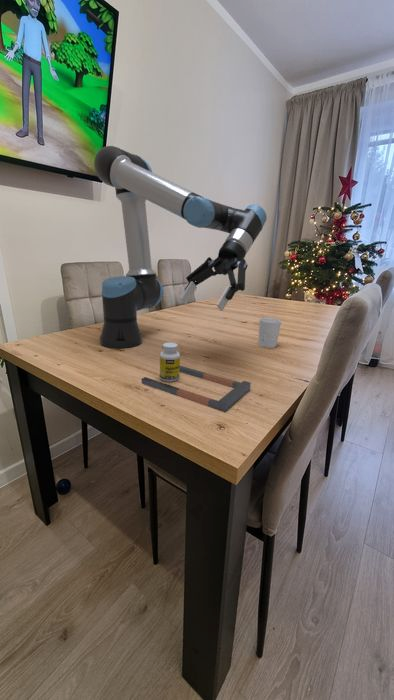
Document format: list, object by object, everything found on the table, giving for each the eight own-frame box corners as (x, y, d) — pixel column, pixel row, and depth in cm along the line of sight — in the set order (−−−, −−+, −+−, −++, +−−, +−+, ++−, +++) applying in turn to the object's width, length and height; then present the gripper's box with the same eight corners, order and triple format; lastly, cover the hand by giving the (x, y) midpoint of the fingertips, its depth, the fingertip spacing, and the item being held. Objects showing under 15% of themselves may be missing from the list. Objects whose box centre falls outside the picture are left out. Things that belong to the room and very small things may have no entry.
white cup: (276, 343, 120) (279, 318, 117) (279, 349, 113) (282, 323, 110) (256, 341, 121) (258, 317, 118) (257, 348, 113) (260, 321, 110)
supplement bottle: (164, 383, 81) (164, 348, 78) (156, 376, 86) (156, 342, 82) (182, 380, 83) (183, 346, 80) (174, 373, 88) (175, 340, 85)
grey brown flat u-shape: (141, 382, 81) (141, 376, 80) (173, 367, 92) (173, 361, 91) (225, 411, 68) (225, 403, 68) (250, 389, 80) (250, 382, 79)
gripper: (276, 259, 86) (241, 319, 80) (208, 256, 102) (176, 306, 96) (268, 239, 81) (231, 301, 75) (198, 239, 97) (163, 290, 91)
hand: (200, 304), depth 85 cm, fingers open, 13 cm apart
